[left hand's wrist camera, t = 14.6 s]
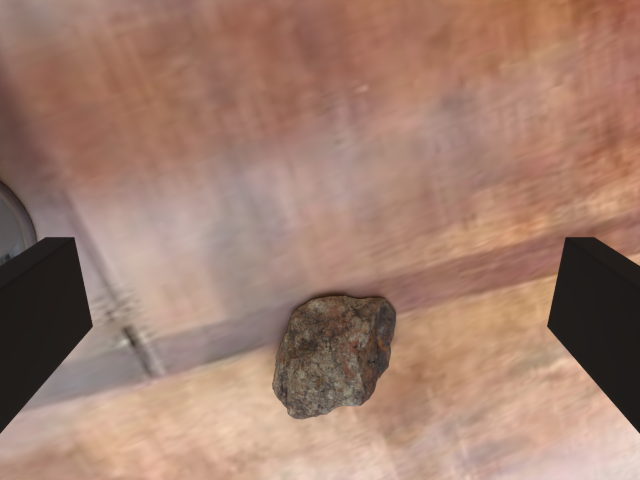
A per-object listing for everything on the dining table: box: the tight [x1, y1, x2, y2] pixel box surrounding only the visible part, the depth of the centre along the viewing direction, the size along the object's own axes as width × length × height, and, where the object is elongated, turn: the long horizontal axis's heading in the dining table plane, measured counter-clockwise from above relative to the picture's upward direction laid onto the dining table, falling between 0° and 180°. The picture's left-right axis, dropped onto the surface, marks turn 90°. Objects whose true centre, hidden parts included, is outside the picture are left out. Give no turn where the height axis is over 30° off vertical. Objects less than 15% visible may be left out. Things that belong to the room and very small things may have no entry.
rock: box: [272, 296, 396, 419], centre depth 48 cm, size 14×9×10 cm
